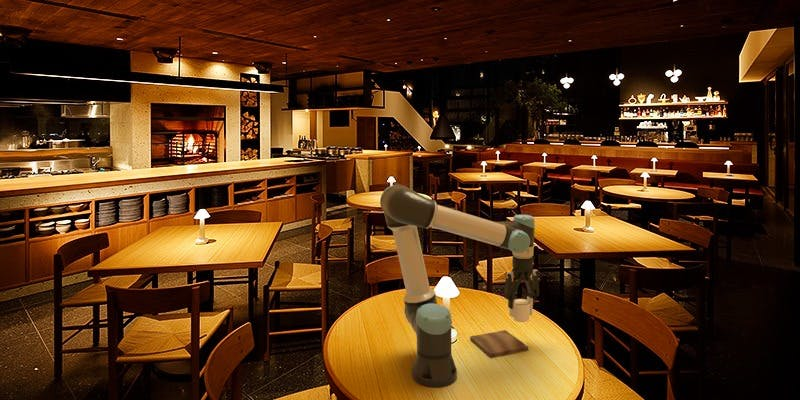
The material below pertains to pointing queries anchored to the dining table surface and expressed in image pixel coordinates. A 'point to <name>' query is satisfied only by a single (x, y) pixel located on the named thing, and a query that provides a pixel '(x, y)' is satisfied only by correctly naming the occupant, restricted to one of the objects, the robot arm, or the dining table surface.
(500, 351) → the serving board
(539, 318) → the dining table surface
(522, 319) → the beige cylinder
